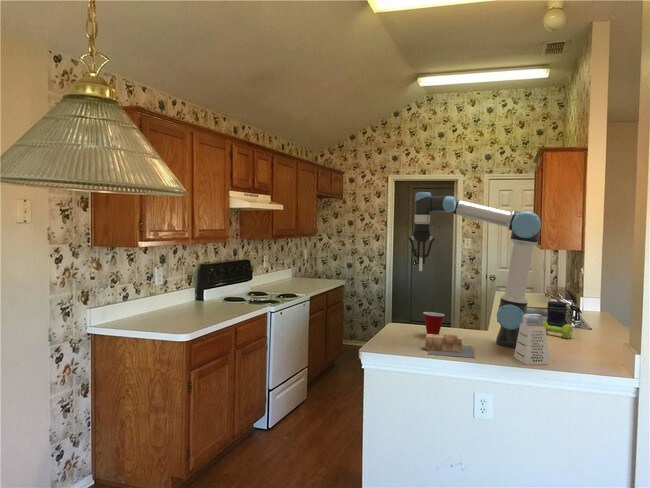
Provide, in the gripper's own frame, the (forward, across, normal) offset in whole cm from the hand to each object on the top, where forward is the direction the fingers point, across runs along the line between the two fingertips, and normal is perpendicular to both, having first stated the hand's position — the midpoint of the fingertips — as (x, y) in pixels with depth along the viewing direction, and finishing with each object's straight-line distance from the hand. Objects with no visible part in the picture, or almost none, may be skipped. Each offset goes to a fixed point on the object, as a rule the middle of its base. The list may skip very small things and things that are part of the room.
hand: (420, 270), depth 245 cm
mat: (+34, -16, +18) cm, 42 cm away
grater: (+35, -49, +24) cm, 65 cm away
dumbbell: (+35, -69, -30) cm, 83 cm away
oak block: (+31, -4, +18) cm, 36 cm away
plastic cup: (+35, -7, -9) cm, 36 cm away
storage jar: (+35, -74, -49) cm, 95 cm away
